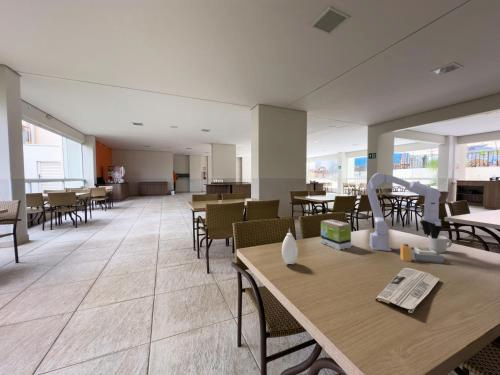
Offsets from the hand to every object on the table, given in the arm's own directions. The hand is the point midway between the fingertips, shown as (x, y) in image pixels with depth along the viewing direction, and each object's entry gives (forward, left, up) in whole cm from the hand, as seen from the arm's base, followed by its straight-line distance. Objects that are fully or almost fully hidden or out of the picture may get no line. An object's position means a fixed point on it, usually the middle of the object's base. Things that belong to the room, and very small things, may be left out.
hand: (430, 236), depth 109 cm
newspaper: (-24, -43, -11) cm, 50 cm away
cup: (+8, +8, -10) cm, 15 cm away
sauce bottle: (-69, -31, -10) cm, 77 cm away
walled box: (-5, -6, -10) cm, 13 cm away
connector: (-14, -10, -10) cm, 20 cm away
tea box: (-46, +4, -10) cm, 48 cm away
